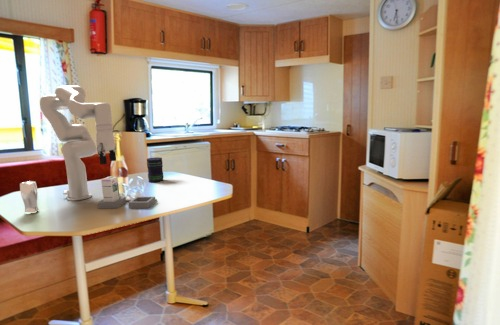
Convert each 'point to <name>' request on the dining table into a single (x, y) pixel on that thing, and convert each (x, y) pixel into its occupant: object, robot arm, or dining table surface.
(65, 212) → the dining table surface
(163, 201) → the dining table surface
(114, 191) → the syrup box
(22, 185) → the white vase
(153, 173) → the storage jar
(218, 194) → the dining table surface
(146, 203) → the panel
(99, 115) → the robot arm
